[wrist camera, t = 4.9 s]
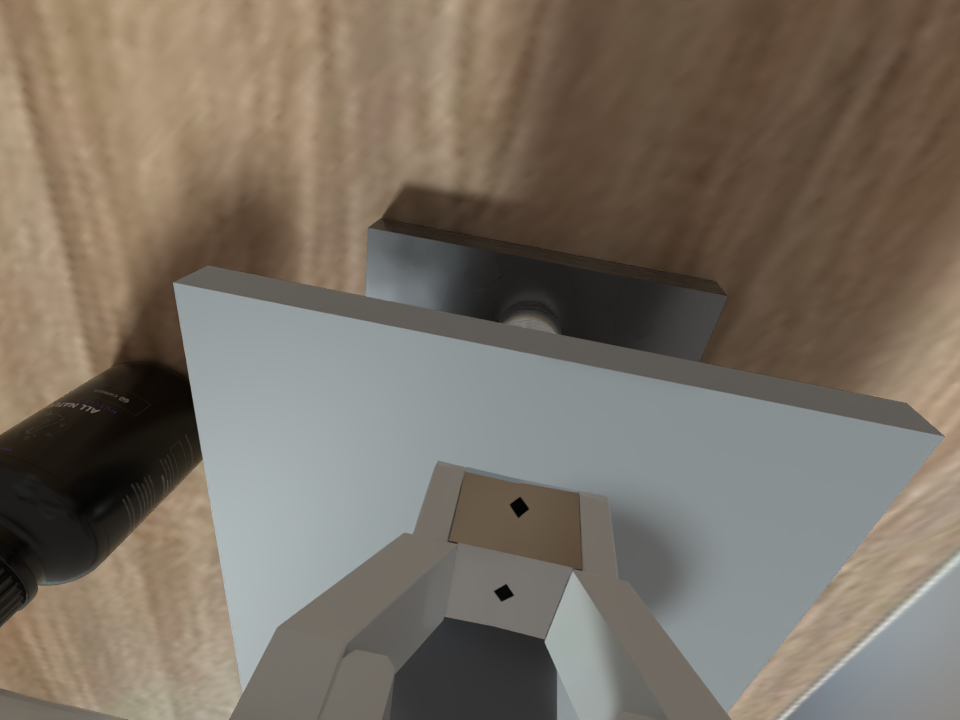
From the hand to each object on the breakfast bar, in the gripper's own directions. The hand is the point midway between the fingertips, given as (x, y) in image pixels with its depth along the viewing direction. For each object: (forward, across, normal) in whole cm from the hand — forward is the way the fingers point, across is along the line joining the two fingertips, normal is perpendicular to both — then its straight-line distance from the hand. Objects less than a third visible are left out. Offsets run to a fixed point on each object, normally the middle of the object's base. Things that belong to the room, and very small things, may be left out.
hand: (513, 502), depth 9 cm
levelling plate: (+3, 0, +8) cm, 9 cm away
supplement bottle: (+14, +19, +13) cm, 26 cm away
